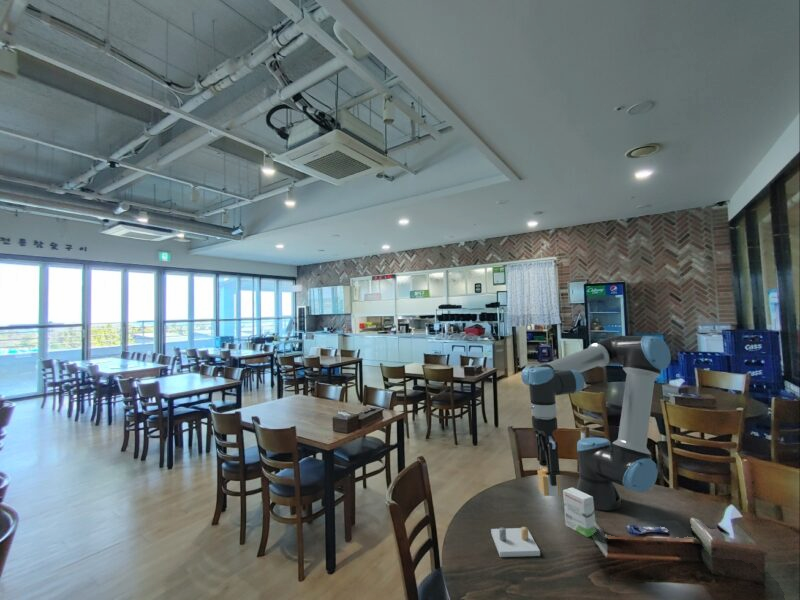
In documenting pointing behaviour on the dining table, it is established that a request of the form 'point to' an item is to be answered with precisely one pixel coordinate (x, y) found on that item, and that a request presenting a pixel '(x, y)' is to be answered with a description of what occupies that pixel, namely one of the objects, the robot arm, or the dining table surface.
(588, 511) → the ink box
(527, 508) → the dining table surface
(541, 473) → the tan stud block
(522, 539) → the plate
